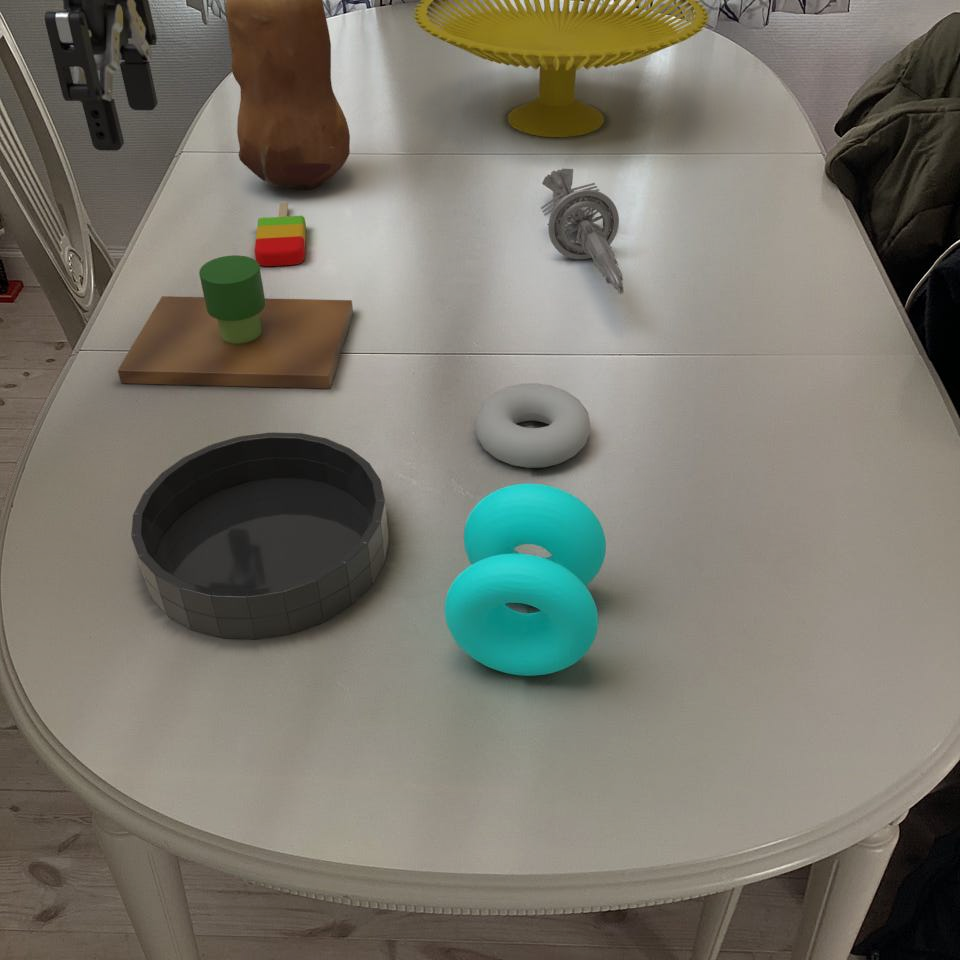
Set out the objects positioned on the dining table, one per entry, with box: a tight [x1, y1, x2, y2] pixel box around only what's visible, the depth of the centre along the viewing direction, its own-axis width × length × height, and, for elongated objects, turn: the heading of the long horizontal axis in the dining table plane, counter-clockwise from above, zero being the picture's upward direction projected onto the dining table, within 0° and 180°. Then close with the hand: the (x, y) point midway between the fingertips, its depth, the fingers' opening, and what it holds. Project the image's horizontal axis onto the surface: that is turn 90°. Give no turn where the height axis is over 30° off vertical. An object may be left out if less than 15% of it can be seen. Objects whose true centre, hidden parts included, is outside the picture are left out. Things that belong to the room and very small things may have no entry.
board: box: [117, 295, 354, 390], centre depth 100 cm, size 20×14×2 cm
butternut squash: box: [225, 0, 351, 191], centre depth 123 cm, size 14×13×25 cm
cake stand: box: [412, 0, 711, 138], centre depth 143 cm, size 40×40×15 cm
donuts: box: [444, 483, 607, 677], centre depth 69 cm, size 10×10×10 cm
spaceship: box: [540, 168, 624, 295], centre depth 112 cm, size 8×35×8 cm
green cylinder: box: [198, 255, 266, 344], centre depth 98 cm, size 6×6×7 cm
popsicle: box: [254, 201, 307, 267], centre depth 119 cm, size 6×15×2 cm, turn 7°
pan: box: [130, 432, 390, 640], centre depth 77 cm, size 18×18×4 cm
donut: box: [474, 382, 592, 469], centre depth 88 cm, size 10×3×10 cm
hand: (127, 128), depth 81 cm, fingers open, 8 cm apart
